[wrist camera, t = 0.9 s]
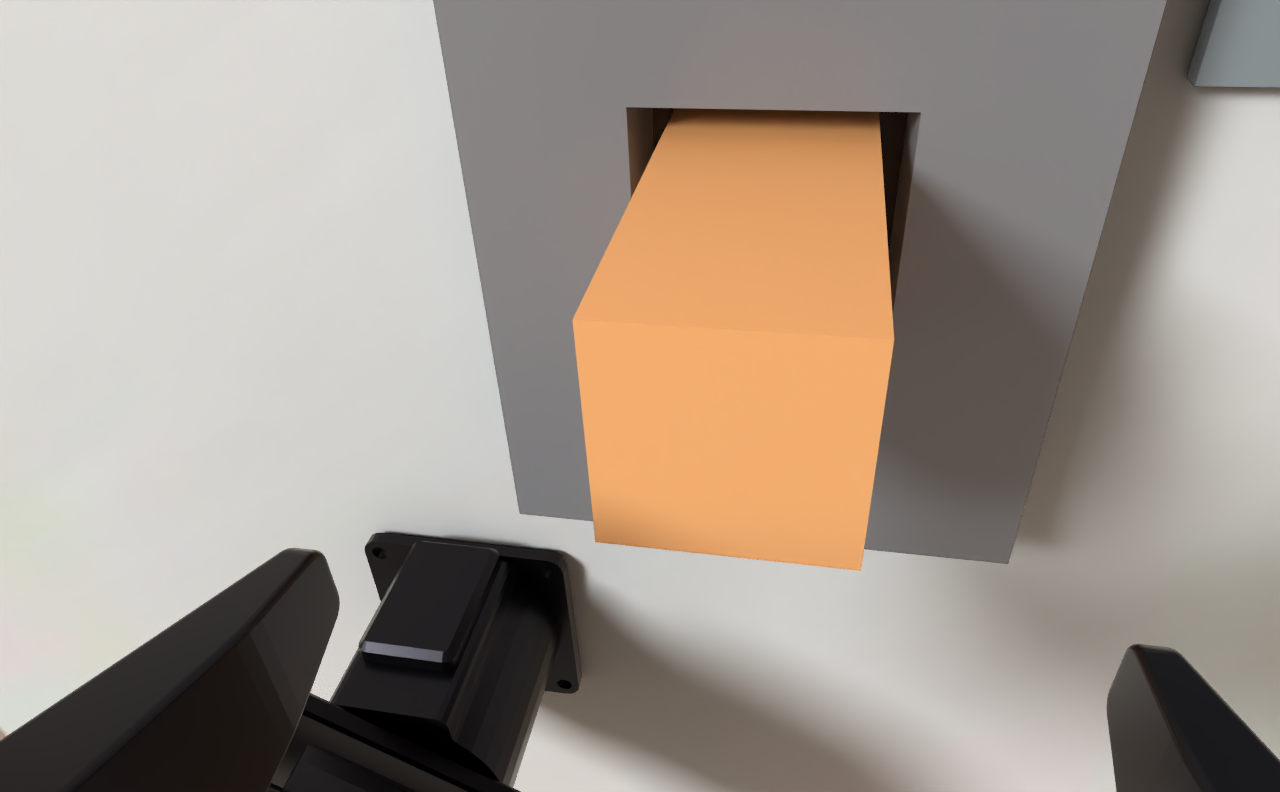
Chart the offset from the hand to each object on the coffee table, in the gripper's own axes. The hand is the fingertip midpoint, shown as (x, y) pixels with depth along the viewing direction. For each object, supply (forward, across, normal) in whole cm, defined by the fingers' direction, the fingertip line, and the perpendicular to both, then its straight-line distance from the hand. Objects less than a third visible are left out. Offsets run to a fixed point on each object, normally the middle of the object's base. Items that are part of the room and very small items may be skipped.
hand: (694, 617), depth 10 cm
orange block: (+12, 0, 0) cm, 12 cm away
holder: (+12, 0, 0) cm, 12 cm away
